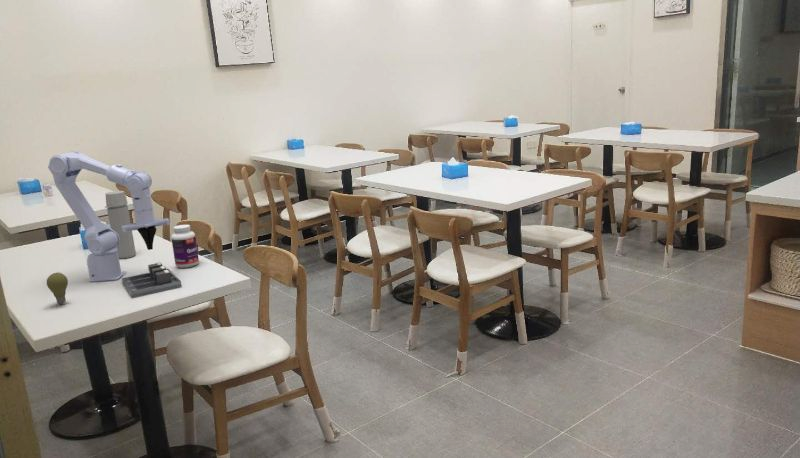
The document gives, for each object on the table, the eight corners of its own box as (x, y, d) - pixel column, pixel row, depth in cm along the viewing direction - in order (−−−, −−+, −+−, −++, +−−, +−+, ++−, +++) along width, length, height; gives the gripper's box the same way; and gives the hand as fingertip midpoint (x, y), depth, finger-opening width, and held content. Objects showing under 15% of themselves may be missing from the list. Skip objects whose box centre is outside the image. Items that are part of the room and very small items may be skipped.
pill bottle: (191, 269, 213) (186, 229, 210) (171, 268, 215) (165, 229, 211) (203, 262, 221) (198, 223, 217) (183, 261, 222) (177, 223, 219)
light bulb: (56, 301, 188) (50, 270, 186) (75, 300, 189) (69, 269, 186) (48, 308, 183) (41, 276, 180) (67, 306, 183) (60, 275, 181)
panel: (131, 298, 187) (130, 292, 187) (122, 284, 201) (121, 278, 201) (181, 286, 195) (180, 281, 195) (169, 274, 209) (168, 268, 209)
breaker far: (151, 278, 202) (149, 266, 201) (149, 276, 204) (147, 264, 203) (164, 275, 204) (162, 263, 203) (162, 273, 206) (160, 261, 205)
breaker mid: (155, 282, 197) (153, 270, 196) (153, 280, 200) (151, 268, 199) (168, 279, 199) (166, 267, 198) (166, 277, 202) (164, 265, 201)
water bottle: (141, 254, 235) (130, 191, 229) (122, 260, 228) (110, 195, 222) (126, 252, 240) (115, 189, 233) (108, 257, 233) (96, 193, 227)
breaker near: (158, 287, 193) (156, 274, 192) (157, 284, 195) (155, 272, 194) (172, 284, 195) (170, 271, 194) (169, 281, 197) (167, 269, 196)
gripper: (122, 215, 194) (129, 256, 197) (169, 207, 201) (175, 247, 205) (118, 211, 200) (125, 251, 203) (164, 204, 207) (170, 242, 211)
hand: (150, 249), depth 204 cm, fingers closed
